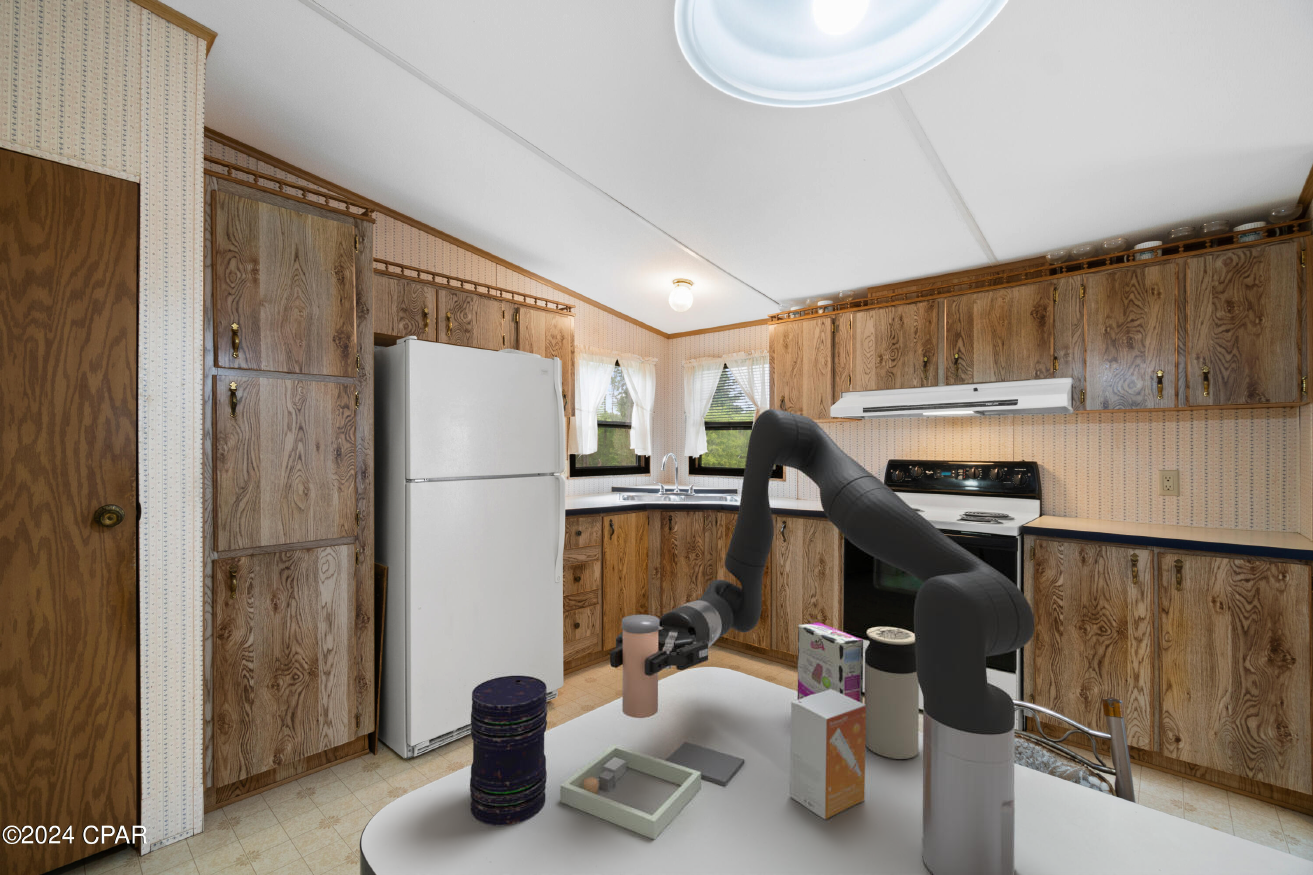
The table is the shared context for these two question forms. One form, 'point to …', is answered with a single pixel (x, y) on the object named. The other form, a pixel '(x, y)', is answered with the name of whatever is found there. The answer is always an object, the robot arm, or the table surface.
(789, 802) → the table surface
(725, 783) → the mat
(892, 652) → the travel mug
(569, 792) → the parts tub
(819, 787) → the small box
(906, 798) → the table surface
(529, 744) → the dark blue barrel
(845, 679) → the candy bar box
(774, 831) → the table surface
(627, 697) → the canister
